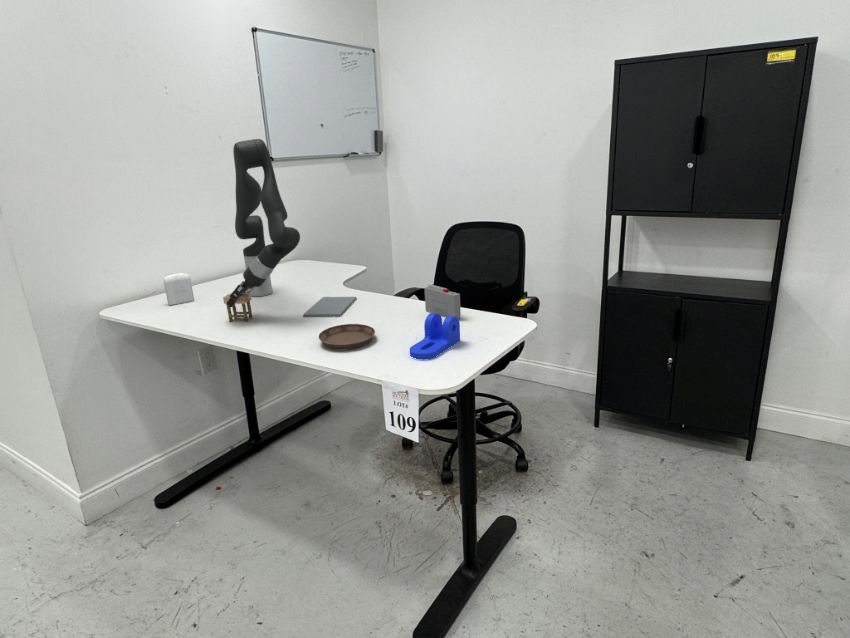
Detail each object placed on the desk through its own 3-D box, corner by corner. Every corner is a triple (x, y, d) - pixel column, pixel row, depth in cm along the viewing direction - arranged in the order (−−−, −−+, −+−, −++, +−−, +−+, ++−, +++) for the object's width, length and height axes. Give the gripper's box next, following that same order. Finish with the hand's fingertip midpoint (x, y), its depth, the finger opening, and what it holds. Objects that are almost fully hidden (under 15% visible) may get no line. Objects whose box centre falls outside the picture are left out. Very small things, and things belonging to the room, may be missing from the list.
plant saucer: (386, 341, 165) (386, 331, 164) (339, 357, 154) (338, 348, 153) (355, 328, 177) (354, 320, 176) (309, 343, 167) (308, 334, 166)
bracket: (437, 337, 165) (436, 310, 162) (460, 341, 161) (459, 313, 158) (404, 357, 151) (402, 328, 148) (428, 362, 147) (426, 332, 144)
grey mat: (323, 299, 212) (323, 297, 212) (356, 299, 210) (356, 296, 210) (303, 316, 192) (303, 314, 191) (340, 316, 190) (339, 314, 189)
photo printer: (193, 299, 224) (187, 270, 220) (195, 301, 220) (189, 272, 216) (167, 304, 218) (161, 275, 214) (169, 306, 215) (162, 277, 211)
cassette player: (460, 318, 181) (459, 291, 177) (454, 320, 179) (453, 292, 176) (431, 309, 192) (430, 283, 189) (425, 311, 191) (424, 285, 187)
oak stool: (234, 317, 196) (230, 293, 193) (254, 317, 194) (250, 293, 191) (227, 322, 191) (222, 297, 188) (248, 322, 190) (243, 297, 187)
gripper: (259, 259, 191) (236, 289, 197) (241, 268, 178) (216, 300, 184) (275, 273, 192) (251, 303, 198) (258, 283, 179) (232, 315, 184)
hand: (234, 301), depth 191 cm, fingers open, 8 cm apart
